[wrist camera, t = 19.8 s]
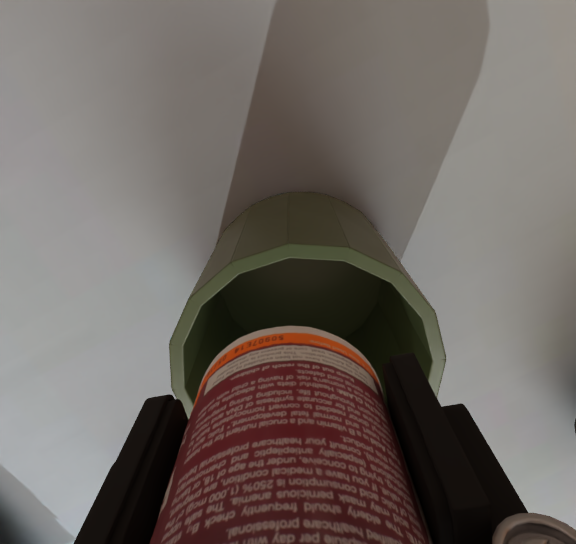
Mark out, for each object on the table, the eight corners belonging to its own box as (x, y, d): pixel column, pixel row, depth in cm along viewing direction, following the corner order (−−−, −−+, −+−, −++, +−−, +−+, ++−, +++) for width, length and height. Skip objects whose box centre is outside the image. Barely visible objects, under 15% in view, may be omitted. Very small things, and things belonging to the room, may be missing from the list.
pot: (187, 314, 28) (133, 423, 19) (257, 158, 24) (235, 192, 15) (335, 376, 30) (357, 505, 20) (422, 240, 26) (501, 319, 17)
